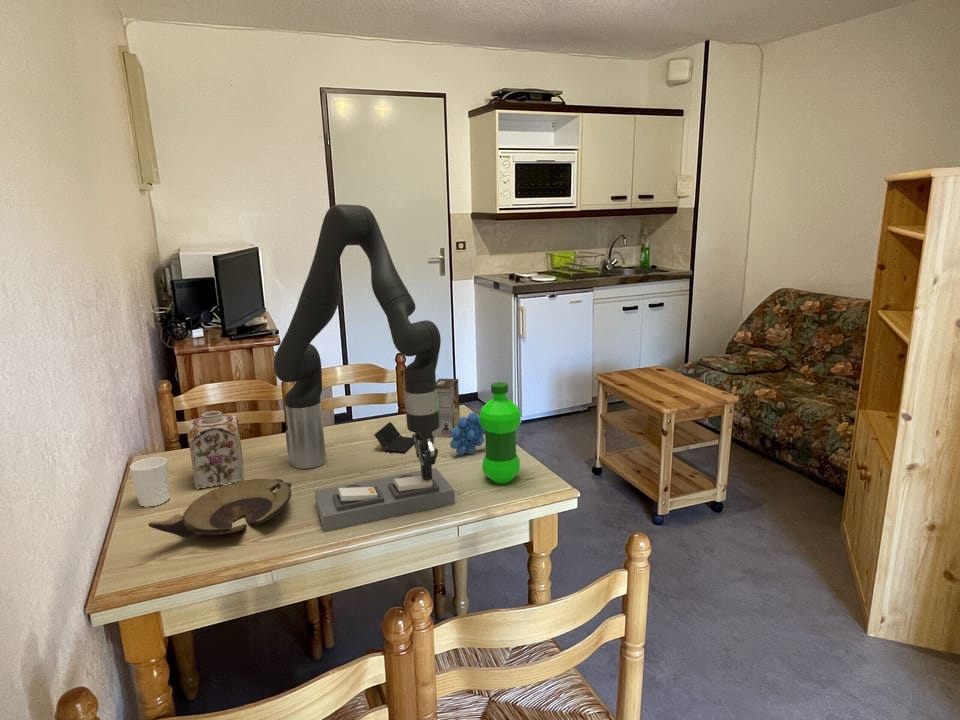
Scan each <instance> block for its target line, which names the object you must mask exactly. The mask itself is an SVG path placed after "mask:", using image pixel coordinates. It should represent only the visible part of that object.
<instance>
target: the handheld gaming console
mask: <svg viewBox="0 0 960 720" xmlns="http://www.w3.org/2000/svg"><path fill="white" fill-rule="evenodd" d="M373 436H374V437H375V438H376V440H377V441H378V443H379V444H380V445H381V446H382V448H384V450H385V453H388V452H390V453H389V454H399V453H400V454H401V455H405V454H406V453H407V452H409V450H411V448H412V447H413V446H414V441H413V438H412V436H411V437H410V436H403V435H402V434H400V432H399V431H398V430H397V428H396V427H395V425H394V424H393V423H392V422H391V421H389V422H388V423H386V424H385V425H384V426H383V427H382V428H380V429H379V430H378V431H377V432H376V433H374V434H373Z"/></svg>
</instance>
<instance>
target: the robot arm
mask: <svg viewBox="0 0 960 720" xmlns="http://www.w3.org/2000/svg"><path fill="white" fill-rule="evenodd" d="M379 225H380V224H379V223H378V221H377V218H376V216H375V215H374V213H373V212H372V211H371V209H369V208H368V207H366V205H365V206H364V205H360V204H334V205H332V206H331V207H329V208H328V210H327V211H326V213H325V215H324V218H323V220H322V224H321V228H320V231H319V236H318V240H317V245H316V248H315V249H316V250H315V253H314V256H313V260H312V262H311V266H310V269H309V271H308V274H307V278H306V280H305V282H304V285H303V287H302V289H301V293H300V295H299V297H298V302H297V305H296V307H295V309H294V310H295V311H294V313H293V316H292V317H291V321H290V322H289V326H288V328H287V331H286V333H285V335H284V336H283V339H282V341H281V342H280V344H279V346H278V348H277V351H276V352H275V355H274V359H273V370H274V375H276V378H277V379H278V380H279V381H281V382H283V383H294V382H295V384H294V385H293V386H292V388H291V389H290V390H289V391H287V392H286V393H285V395H284V404H285V414H286V423H287V430H286V431H285V439H286V440H285V441H286V448H287V449H286V450H287V459H288V464H289V465H291V466H292V467H293V468H295V469H303V470H304V469H312V468H317V467H319V466H322V465H324V464H325V463H326V461H327V453H326V443H325V442H326V441H325V432H324V431H325V430H324V423H323V412H322V410H323V409H322V403H321V395H322V392H323V374H322V373H323V372H322V360H321V357H320V355H321V354H320V353H319V351H318V349H317V347H315V346H314V345H313V344H312V343H311V342H313V340H314V339H315V338H316V336H318V335H319V334H320V333H321V331H323V330H324V329H325V327H327V325H328V324H329V323H330V322H331V321H332V319H333V317H334V315H335V314H336V311H337V309H338V306H339V304H340V301H341V299H342V295H343V287H342V282H341V278H340V274H339V264H340V260H341V258H342V257H341V256H342V254H343V252H344V251H345V248H346V247H347V246H359V247H360V248H361V249H362V250H363V252H364V253H365V255H366V257H367V259H368V261H369V264H370V275H371V277H370V281H371V283H370V284H371V288H372V291H373V294H374V296H375V299H376V301H377V302H378V303H379V306H380V307H381V309H382V311H383V312H384V314H385V315H386V320H387V323H388V327H389V331H390V336H391V339H392V342H393V345H394V347H395V349H397V351H398V352H399V353H400V354H401V355H403V356H405V357H414V360H413V361H412V362H411V363H410V364H408V365H407V366H405V368H404V387H405V388H404V389H405V398H404V402H405V414H406V415H405V416H406V429H407V430H408V431H409V432H412V435H411V437H412V438H413V441H414V445H413V446H414V449H415V454H416V458H417V459H418V462H419V463H420V471H421V476H422V478H423V479H424V480H429V479H432V468H433V467H432V466H433V465H435V464H436V461H437V457H438V453H439V449H438V448H437V447H436V448H435V444H436V439H435V436H434V430H436V429H438V428H439V426H440V421H439V405H438V395H437V389H436V381H437V379H436V377H437V375H436V371H437V370H436V369H437V365H438V362H439V361H438V360H439V355H440V349H441V345H442V344H441V343H442V342H441V341H442V339H441V333H440V330H439V328H438V327H437V325H436V323H434V322H433V321H431V320H425V319H424V320H421V321H416V322H412V323H411V321H410V318H409V317H410V316H412V315H413V313H414V312H415V310H416V303H415V300H414V299H413V296H411V293H410V292H409V290H408V288H407V287H406V286H405V283H404V282H403V280H402V278H401V277H400V275H399V273H398V271H397V269H396V266H395V264H394V262H393V260H392V256H391V253H390V251H389V249H388V246H387V243H386V241H385V239H384V236H383V234H382V231H381V227H380V226H379Z"/></svg>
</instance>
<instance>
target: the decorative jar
mask: <svg viewBox="0 0 960 720" xmlns="http://www.w3.org/2000/svg"><path fill="white" fill-rule="evenodd" d="M187 426H188V441H187V442H188V443H189V451H190V459H191V466H192V467H191V468H192V473H193V478H194V479H193V480H194V484H195V485H194V486H195V489H196V488H203V487H210V486H216V485H223V484H228V483H235V482H239V481H245V479H244V477H245V476H244V460H243V459H244V458H243V451H242V450H243V449H242V441H241V435H240V428H239V426H240V425H239V419H238V417H237V416H236V415H234V414H233V415H232V414H226V413H222V412H221V411H219V410H211V411H206V412H204V413H202V414H201V417H198V418H195V419H194V420H191V421H189V423H188V425H187ZM223 486H224V485H223Z"/></svg>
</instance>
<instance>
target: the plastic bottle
mask: <svg viewBox="0 0 960 720" xmlns="http://www.w3.org/2000/svg"><path fill="white" fill-rule="evenodd" d="M490 391H491V392H490V393H492V394H493V397H492V398H491V399H490V400H488V401H487V402H486V403H485V404H484V405H483V406H482V407H481V409H480V412H479V416H480V424H481V427H482V428H483V429H484V430H485V435H484V442H485V445H484V446H485V454H484V457H483V459H482V467H481V468H482V472H483V474H484V475H485V476H486V477H487V478H488V479H490V480H491V481H492V482H493V483H495V484H508V483H509V482H511V481H512V480H513V479H514V478H516V477H517V476H518V474H519V473H520V471H521V465H520V464H521V463H520V462H521V460H520V458H519V456H518V454H517V432H516V431H517V429H518V428H519V427H520V426H521V421H522V420H521V419H522V417H521V409H520V407H519V406H518V405H517V404H515V403H514V402H513V401H512V400H511V399H510V398H508V397H507V393H508V392H509V383H507V382H503V381H502V382H501V381H499V382H493V383H491V384H490Z"/></svg>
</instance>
